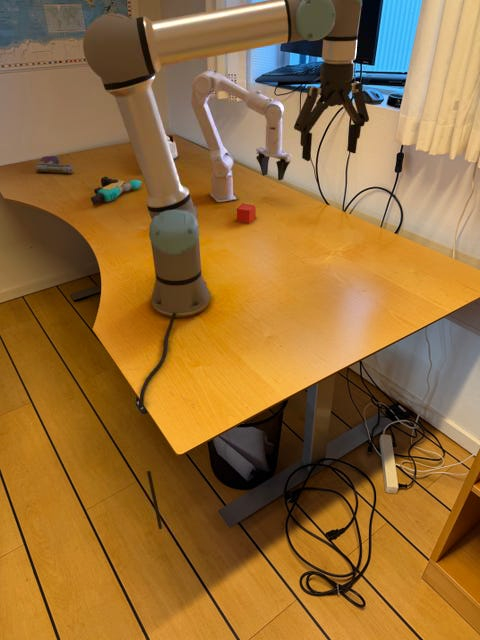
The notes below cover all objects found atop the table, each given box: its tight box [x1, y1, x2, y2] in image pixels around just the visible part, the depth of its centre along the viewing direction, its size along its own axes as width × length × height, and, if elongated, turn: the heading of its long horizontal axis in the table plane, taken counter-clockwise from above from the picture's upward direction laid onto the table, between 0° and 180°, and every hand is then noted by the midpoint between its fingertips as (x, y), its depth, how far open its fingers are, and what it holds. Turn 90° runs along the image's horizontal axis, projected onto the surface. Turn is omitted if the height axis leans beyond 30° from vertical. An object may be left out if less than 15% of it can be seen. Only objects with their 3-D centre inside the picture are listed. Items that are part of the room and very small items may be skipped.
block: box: [236, 202, 256, 224], centre depth 166 cm, size 5×5×5 cm
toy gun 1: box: [34, 155, 74, 174], centre depth 213 cm, size 4×19×15 cm
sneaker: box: [166, 134, 179, 160], centre depth 214 cm, size 10×29×12 cm, turn 163°
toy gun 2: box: [90, 176, 143, 206], centre depth 186 cm, size 4×26×15 cm
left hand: (329, 155), depth 121 cm, fingers open, 13 cm apart
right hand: (272, 177), depth 175 cm, fingers open, 7 cm apart
